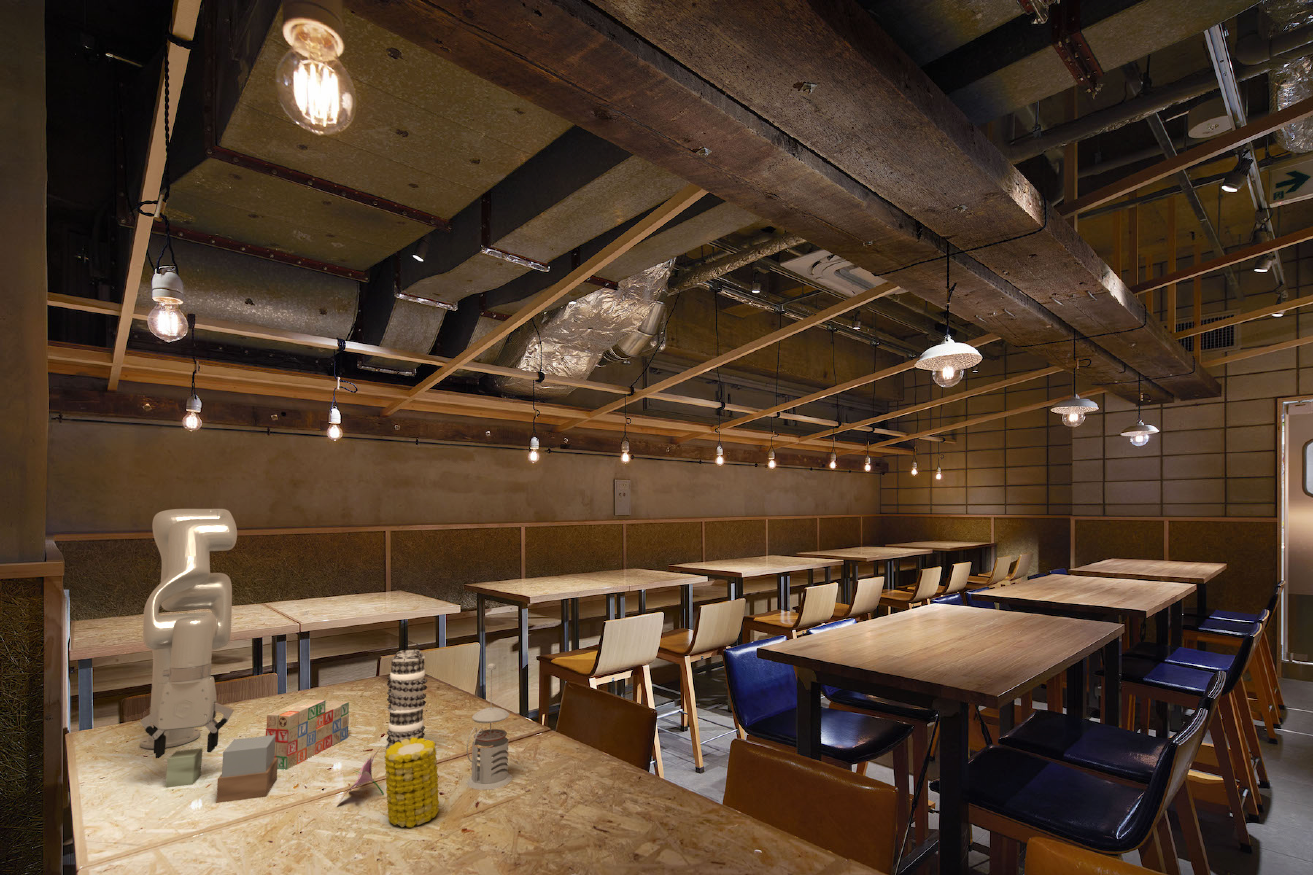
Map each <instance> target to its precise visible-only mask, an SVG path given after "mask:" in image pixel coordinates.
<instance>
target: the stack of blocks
mask: <svg viewBox="0 0 1313 875" xmlns="http://www.w3.org/2000/svg"><path fill="white" fill-rule="evenodd" d="M349 707H350V702H349V701H338V700H337V701H335V700H327V701H326V699H325V700H324V699H311V698H310V699H306V698H305V699H301V700H300V701H296V702H295V703H292V704H290V705H287V706H285V707H282V708H280V709H278V710H275V711H273V712H270V713H267V714H266V728H265V736H271V735H276V737H275V757H274V758H277V757H278V765H277V770H284V769H285V771H286V770H289V769H291V768H293V767H296V766H298V765H299V764H301V763H304V762H305V761H307V760H309V759H310V758H312V756H313V757H315V756H316V755H318V754H320V753H321V751H322V752H323V751H325V750H328V749H329V748H331V747H333V746H335V745H336V744H338V742H339V743H341V742H342V740H343V741H344V740H346V739H348V738H349V722H350V721H349V720H350V713H349ZM328 747H329V748H328ZM314 755H315V756H314ZM308 758H309V759H308Z"/></svg>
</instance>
